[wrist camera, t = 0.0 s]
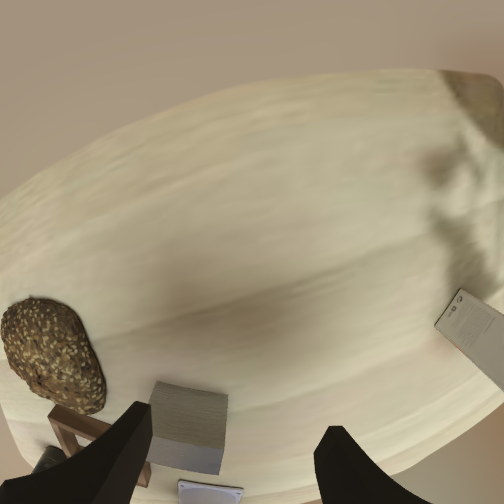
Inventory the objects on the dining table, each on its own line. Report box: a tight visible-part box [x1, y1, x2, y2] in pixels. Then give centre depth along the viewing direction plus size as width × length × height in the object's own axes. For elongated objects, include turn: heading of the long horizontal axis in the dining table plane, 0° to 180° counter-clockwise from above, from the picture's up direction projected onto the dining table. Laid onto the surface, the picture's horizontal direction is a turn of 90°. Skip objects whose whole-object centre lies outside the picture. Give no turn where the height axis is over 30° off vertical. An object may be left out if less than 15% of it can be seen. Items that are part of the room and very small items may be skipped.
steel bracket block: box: [145, 381, 228, 475], centre depth 18 cm, size 6×4×6 cm, turn 80°
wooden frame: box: [48, 404, 151, 488], centre depth 22 cm, size 9×11×2 cm
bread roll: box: [0, 299, 105, 415], centre depth 18 cm, size 13×12×5 cm
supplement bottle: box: [31, 447, 67, 474], centre depth 19 cm, size 7×7×12 cm
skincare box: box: [435, 289, 504, 392], centre depth 14 cm, size 6×4×12 cm
